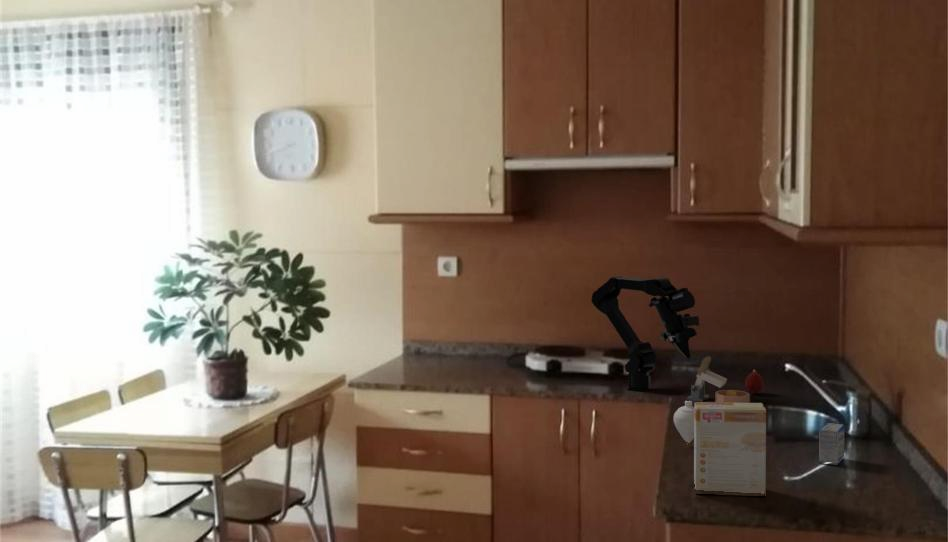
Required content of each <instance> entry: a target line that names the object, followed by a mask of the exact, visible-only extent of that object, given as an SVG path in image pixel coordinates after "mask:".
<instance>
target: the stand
mask: <svg viewBox="0 0 948 542" xmlns="http://www.w3.org/2000/svg"><path fill="white" fill-rule="evenodd" d="M709 396H710V395H709V394H706V381H704V384H703V386H702V388H701V389H699V386H697V385H695V384H691V386H690V395H689V396H687V397H686V401H687V400H689V401H690V400H691V401H692V402H695V401H701V402H703V401H704V400H705V401H706V400H708V399H709V398H710V397H709ZM707 398H708V399H707ZM705 401H704V402H705Z"/></svg>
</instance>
